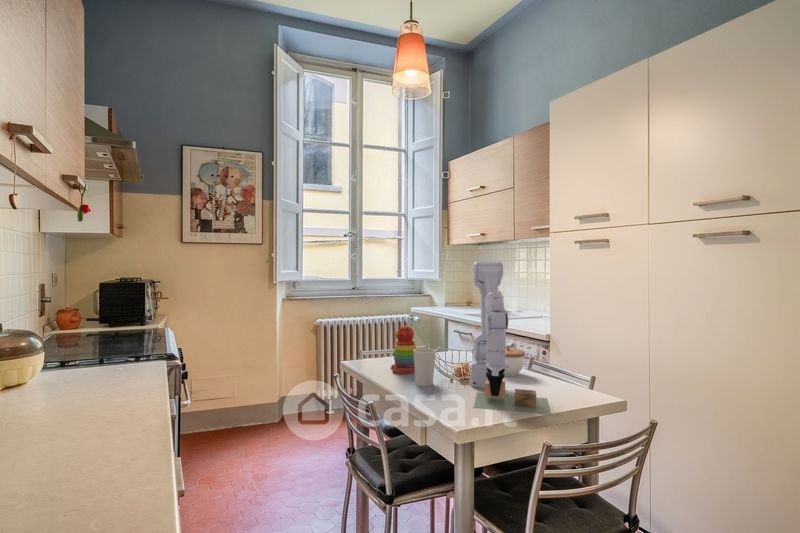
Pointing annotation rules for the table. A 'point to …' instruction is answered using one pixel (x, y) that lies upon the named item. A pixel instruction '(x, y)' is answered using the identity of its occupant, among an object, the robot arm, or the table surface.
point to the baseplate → (510, 404)
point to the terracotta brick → (488, 392)
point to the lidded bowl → (513, 361)
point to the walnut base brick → (525, 398)
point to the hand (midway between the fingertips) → (495, 393)
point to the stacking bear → (404, 351)
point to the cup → (424, 366)
